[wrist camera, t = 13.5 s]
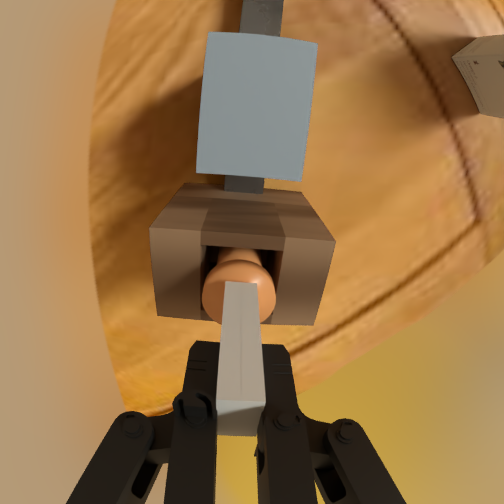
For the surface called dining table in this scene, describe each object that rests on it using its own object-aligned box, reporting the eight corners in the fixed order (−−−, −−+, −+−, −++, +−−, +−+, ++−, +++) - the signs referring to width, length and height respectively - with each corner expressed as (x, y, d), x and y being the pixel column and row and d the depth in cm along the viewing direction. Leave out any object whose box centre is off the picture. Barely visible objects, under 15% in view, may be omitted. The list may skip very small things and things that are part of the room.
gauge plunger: (214, 218, 19) (201, 266, 13) (269, 223, 19) (281, 272, 14) (212, 267, 21) (202, 325, 15) (263, 270, 21) (270, 329, 15)
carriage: (220, 66, 18) (204, 31, 10) (289, 73, 19) (322, 44, 10) (213, 149, 21) (191, 172, 13) (280, 155, 22) (305, 182, 13)
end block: (184, 182, 23) (149, 227, 14) (301, 192, 24) (336, 241, 15) (184, 246, 26) (157, 315, 17) (291, 253, 26) (313, 325, 17)
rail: (248, -86, 10) (249, -107, 6) (300, -80, 10) (307, -100, 6) (213, 184, 23) (208, 197, 20) (272, 189, 23) (278, 203, 20)
